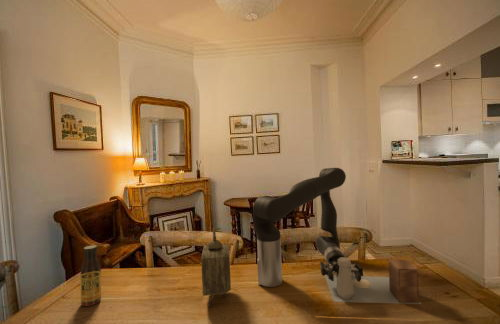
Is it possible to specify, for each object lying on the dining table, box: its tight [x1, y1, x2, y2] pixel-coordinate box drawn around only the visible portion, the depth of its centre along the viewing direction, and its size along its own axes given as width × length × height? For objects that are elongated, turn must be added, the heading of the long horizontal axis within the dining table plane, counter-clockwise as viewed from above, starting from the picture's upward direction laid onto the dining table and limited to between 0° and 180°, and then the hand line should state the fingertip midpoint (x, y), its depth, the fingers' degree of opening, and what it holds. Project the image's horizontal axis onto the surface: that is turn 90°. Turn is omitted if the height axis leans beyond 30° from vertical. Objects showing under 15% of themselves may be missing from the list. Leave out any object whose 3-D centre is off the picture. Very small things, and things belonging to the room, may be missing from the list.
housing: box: [388, 259, 420, 304], centre depth 85 cm, size 6×7×11 cm
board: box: [324, 275, 422, 305], centre depth 91 cm, size 27×18×1 cm, turn 83°
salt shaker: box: [336, 256, 354, 300], centre depth 87 cm, size 6×6×13 cm
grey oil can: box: [201, 226, 232, 308], centre depth 90 cm, size 14×9×25 cm, turn 5°
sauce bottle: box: [79, 244, 102, 307], centre depth 90 cm, size 7×6×20 cm
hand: (345, 278), depth 85 cm, fingers open, 8 cm apart
